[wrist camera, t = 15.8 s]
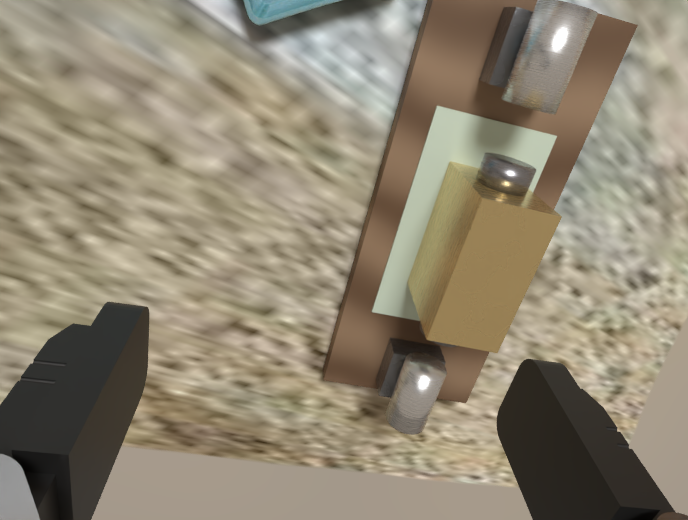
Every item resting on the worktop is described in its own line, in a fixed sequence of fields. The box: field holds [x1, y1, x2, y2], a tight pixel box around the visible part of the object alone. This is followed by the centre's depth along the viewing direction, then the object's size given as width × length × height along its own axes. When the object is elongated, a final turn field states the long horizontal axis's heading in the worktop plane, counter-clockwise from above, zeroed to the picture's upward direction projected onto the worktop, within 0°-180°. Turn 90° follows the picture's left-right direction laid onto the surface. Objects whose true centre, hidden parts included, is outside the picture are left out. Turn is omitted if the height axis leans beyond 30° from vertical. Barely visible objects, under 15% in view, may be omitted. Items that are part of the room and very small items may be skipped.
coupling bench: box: [323, 0, 638, 434], centre depth 33 cm, size 29×12×6 cm, turn 166°
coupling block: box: [407, 152, 561, 353], centre depth 31 cm, size 12×4×7 cm, turn 166°
